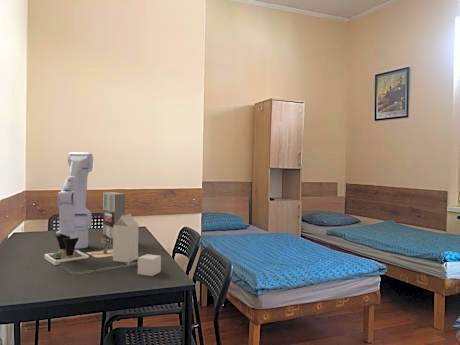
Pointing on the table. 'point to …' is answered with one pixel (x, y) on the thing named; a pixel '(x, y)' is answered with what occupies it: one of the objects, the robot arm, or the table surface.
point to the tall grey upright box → (111, 213)
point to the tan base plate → (102, 252)
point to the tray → (56, 262)
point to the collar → (63, 254)
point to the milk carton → (125, 240)
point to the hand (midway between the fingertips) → (66, 253)
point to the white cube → (149, 264)
